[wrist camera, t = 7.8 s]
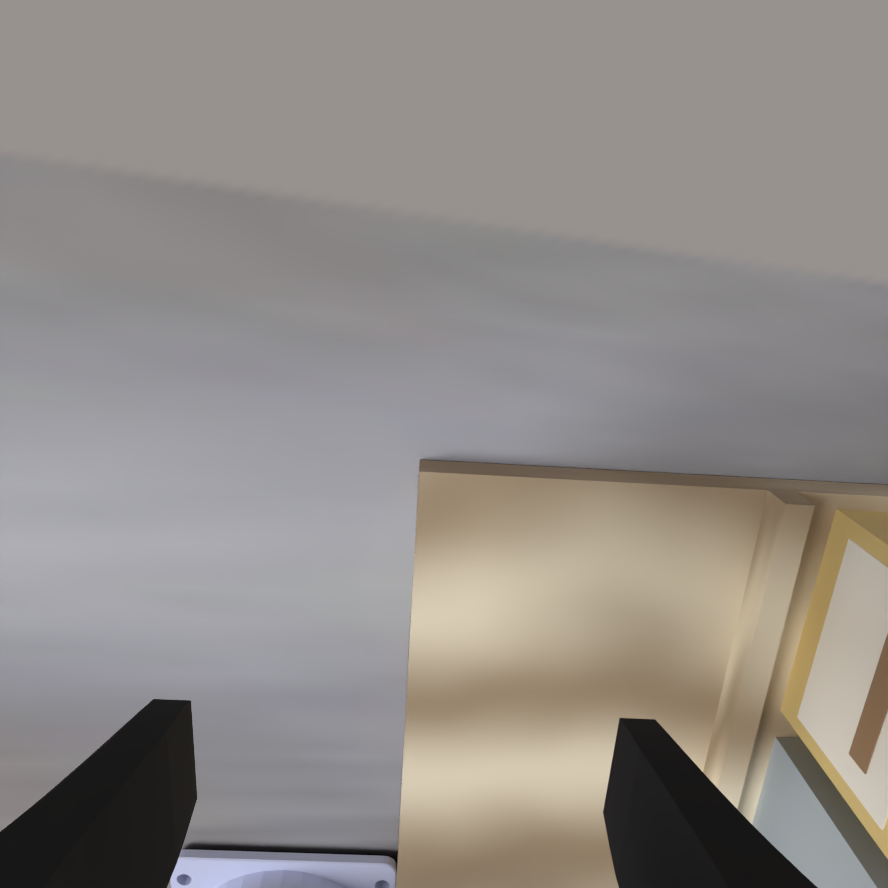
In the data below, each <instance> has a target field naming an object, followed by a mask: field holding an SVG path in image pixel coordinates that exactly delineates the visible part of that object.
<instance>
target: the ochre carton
mask: <svg viewBox="0 0 888 888" xmlns="http://www.w3.org/2000/svg"><path fill="white" fill-rule="evenodd" d="M781 712H782V713H783V715H784V716H785V717H786V719H787V720H788V722H789V723H790V724H791V726H792V727H793V729H794V730H795V731H796V733H797V734H798V735H799V737H800V738H801V740H802V741H803V742H804V744H805V745H806V747H807V748H808V749H809V751H810V752H811V754H812V755H813V756H814V758H815V759H816V760H817V762H818V763H819V765H820V766H821V767H822V769H823V770H824V772H825V773H826V774H827V776H828V777H829V779H830V780H831V781H832V783H833V784H834V785H835V787H836V788H837V790H838V791H839V792H840V794H841V795H842V797H843V798H844V799H845V801H846V802H847V804H848V805H849V806H850V808H851V809H852V810H853V812H854V813H855V815H856V816H857V817H858V819H859V820H860V822H861V823H862V824H863V826H864V827H865V829H866V830H867V831H868V833H869V834H870V835H871V837H872V838H873V840H874V841H875V842H876V844H877V845H878V847H879V848H880V849H881V851H882V852H883V854H884V855H885V856H886V858H887V859H888V512H877V511H861V510H845V509H836V512H835V515H834V519H833V522H832V526H831V530H830V533H829V537H828V540H827V544H826V548H825V551H824V555H823V558H822V562H821V566H820V569H819V573H818V576H817V580H816V584H815V587H814V591H813V594H812V598H811V602H810V605H809V609H808V612H807V616H806V620H805V623H804V627H803V630H802V634H801V638H800V641H799V645H798V648H797V652H796V656H795V659H794V663H793V666H792V670H791V674H790V677H789V681H788V684H787V688H786V692H785V695H784V699H783V702H782V706H781Z"/></svg>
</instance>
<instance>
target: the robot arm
mask: <svg viewBox="0 0 888 888" xmlns="http://www.w3.org/2000/svg"><path fill="white" fill-rule="evenodd" d="M196 800H197V789H196V774H195V758H194V743H193V727H192V712H191V701H186V700H161V699H153V700H152V701H151V702H150V703H149V704H148V705H146V706H145V707H144V708H143V709H142V710H141V711H140V712H138V713H137V714H136V715H135V716H134V717H133V718H132V719H131V720H130V721H128V722H127V723H126V724H125V725H124V726H123V727H122V728H121V729H120V730H118V731H117V732H116V733H115V734H114V735H113V736H112V737H111V738H110V739H109V740H107V741H106V742H105V743H104V744H103V745H102V746H101V747H100V748H99V749H97V750H96V751H95V752H94V753H93V754H92V755H91V756H90V757H89V758H87V759H86V760H85V761H84V762H83V763H82V764H81V765H80V766H78V767H77V768H76V769H75V770H74V771H73V772H71V773H70V774H69V775H68V776H67V777H66V778H65V779H63V780H62V781H61V782H60V783H59V784H58V785H57V786H55V787H54V788H53V789H52V790H51V791H50V792H48V793H47V794H46V795H45V796H44V797H43V798H41V799H40V800H39V801H38V802H37V803H35V804H34V805H33V806H32V807H31V808H29V809H28V810H27V811H26V812H24V813H23V814H22V815H21V816H19V817H18V818H17V819H16V820H14V821H13V822H12V823H11V824H10V825H8V826H7V827H6V828H5V829H3V830H2V831H1V832H0V888H167V885H168V883H169V881H170V880H171V888H396V881H397V863H396V862H395V860H394V859H392V858H390V857H389V856H379V855H348V854H317V853H286V852H254V851H223V850H192V849H185V850H181V849H182V846H183V842H184V839H185V836H186V833H187V830H188V827H189V823H190V820H191V817H192V813H193V810H194V807H195V803H196ZM603 815H604V820H605V826H606V831H607V836H608V841H609V847H610V852H611V856H612V861H613V866H614V871H615V875H616V879H617V883H618V886H619V888H818V887H817V886H815V885H814V884H813V883H812V882H811V881H810V880H809V879H808V878H807V877H806V876H805V875H804V874H802V873H801V872H800V871H799V870H798V869H797V868H796V867H795V866H794V865H793V864H792V863H791V862H790V861H789V860H788V859H787V858H786V857H785V856H784V855H783V854H781V853H780V852H779V851H778V850H777V849H776V848H775V847H774V846H773V845H772V844H771V843H770V842H769V841H768V840H767V839H766V838H765V837H764V836H763V835H762V834H761V833H760V832H759V831H758V830H757V829H756V828H755V827H754V826H753V825H752V824H751V823H750V822H749V821H748V820H747V819H746V818H745V817H744V816H743V815H742V814H741V813H740V811H739V810H738V809H737V808H736V807H735V806H734V805H733V804H732V803H731V802H730V801H729V800H728V799H727V798H726V797H725V796H724V795H723V794H722V792H721V791H720V790H719V789H718V788H717V787H716V786H715V785H714V784H713V783H712V782H711V781H710V779H709V778H708V777H707V776H706V775H705V774H704V773H703V772H702V771H701V770H700V768H699V767H698V766H697V765H696V764H695V763H694V762H693V761H692V760H691V759H690V757H689V756H688V755H687V754H686V753H685V752H684V751H683V750H682V748H681V747H680V746H679V745H678V744H677V743H676V742H675V741H674V740H673V738H672V737H671V736H670V735H669V734H668V733H667V732H666V731H665V730H664V728H663V727H662V726H661V725H660V724H659V723H658V722H657V721H656V720H655V719H635V718H619V724H618V730H617V735H616V741H615V747H614V752H613V758H612V764H611V769H610V775H609V781H608V787H607V792H606V798H605V804H604V809H603ZM381 880H384V881H381Z"/></svg>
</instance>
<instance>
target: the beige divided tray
mask: <svg viewBox="0 0 888 888" xmlns="http://www.w3.org/2000/svg"><path fill="white" fill-rule="evenodd" d="M836 509H845V510H861V511H877V512H888V485H881V484H862V483H844V482H825V481H807V480H788V479H769V478H751V477H732V476H714V475H695V474H677V473H658V472H640V471H621V470H603V469H584V468H566V467H547V466H529V465H510V464H492V463H473V462H455V461H436V460H420V467H419V485H418V503H417V521H416V539H415V557H414V575H413V593H412V611H411V629H410V647H409V665H408V683H407V701H406V719H405V737H404V755H403V773H402V791H401V809H400V827H399V845H398V863H397V881H396V888H619V886H618V883H617V879H616V875H615V871H614V866H613V861H612V856H611V852H610V847H609V841H608V836H607V831H606V826H605V820H604V815H603V809H604V804H605V798H606V792H607V787H608V781H609V775H610V769H611V764H612V758H613V752H614V747H615V741H616V735H617V730H618V724H619V718H635V719H655V720H656V721H657V722H658V723H659V724H660V725H661V726H662V727H663V728H664V730H665V731H666V732H667V733H668V734H669V735H670V736H671V737H672V738H673V740H674V741H675V742H676V743H677V744H678V745H679V746H680V747H681V748H682V750H683V751H684V752H685V753H686V754H687V755H688V756H689V757H690V759H691V760H692V761H693V762H694V763H695V764H696V765H697V766H698V767H699V768H700V770H701V771H702V772H703V773H704V774H705V775H706V776H707V777H708V778H709V779H710V781H711V782H712V783H713V784H714V785H715V786H716V787H717V788H718V789H719V790H720V791H721V792H722V794H723V795H724V796H725V797H726V798H727V799H728V800H729V801H730V802H731V803H732V804H733V805H734V806H735V807H736V808H737V809H738V810H739V811H740V813H741V814H742V815H743V816H744V817H745V818H746V819H747V820H748V821H749V822H750V823H751V824H752V823H753V820H754V816H755V812H756V808H757V804H758V801H759V797H760V793H761V789H762V786H763V782H764V778H765V774H766V771H767V767H768V763H769V759H770V756H771V752H772V748H773V744H774V741H775V737H794V738H800V737H799V735H798V734H797V733H796V731H795V730H794V729H793V727H792V726H791V724H790V723H789V722H788V720H787V719H786V717H785V716H784V715H783V713H782V712H781V706H782V702H783V699H784V695H785V692H786V688H787V684H788V681H789V677H790V674H791V670H792V666H793V663H794V659H795V656H796V652H797V648H798V645H799V641H800V638H801V634H802V630H803V627H804V623H805V620H806V616H807V612H808V609H809V605H810V602H811V598H812V594H813V591H814V587H815V584H816V580H817V576H818V573H819V569H820V566H821V562H822V558H823V555H824V551H825V548H826V544H827V540H828V537H829V533H830V530H831V526H832V522H833V519H834V515H835V512H836Z"/></svg>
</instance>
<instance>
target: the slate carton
mask: <svg viewBox="0 0 888 888" xmlns="http://www.w3.org/2000/svg"><path fill="white" fill-rule="evenodd" d="M752 825H753V826H754V827H755V828H756V829H757V830H758V831H759V832H760V833H761V834H762V835H763V836H764V837H765V838H766V839H767V840H768V841H769V842H770V843H771V844H772V845H773V846H774V847H775V848H776V849H777V850H778V851H779V852H780V853H781V854H783V855H784V856H785V857H786V858H787V859H788V860H789V861H790V862H791V863H792V864H793V865H794V866H795V867H796V868H797V869H798V870H799V871H800V872H801V873H802V874H804V875H805V876H806V877H807V878H808V879H809V880H810V881H811V882H812V883H813V884H814V885H815V886H817V887H818V888H888V859H887V858H886V856H885V855H884V854H883V852H882V851H881V849H880V848H879V847H878V845H877V844H876V842H875V841H874V840H873V838H872V837H871V835H870V834H869V833H868V831H867V830H866V829H865V827H864V826H863V824H862V823H861V822H860V820H859V819H858V817H857V816H856V815H855V813H854V812H853V810H852V809H851V808H850V806H849V805H848V804H847V802H846V801H845V799H844V798H843V797H842V795H841V794H840V792H839V791H838V790H837V788H836V787H835V785H834V784H833V783H832V781H831V780H830V779H829V777H828V776H827V774H826V773H825V772H824V770H823V769H822V767H821V766H820V765H819V763H818V762H817V760H816V759H815V758H814V756H813V755H812V754H811V752H810V751H809V749H808V748H807V747H806V745H805V744H804V742H803V741H802V740H801V738H794V737H775V741H774V744H773V748H772V752H771V756H770V759H769V763H768V767H767V771H766V774H765V778H764V782H763V786H762V789H761V793H760V797H759V801H758V804H757V808H756V812H755V816H754V820H753V823H752Z"/></svg>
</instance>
